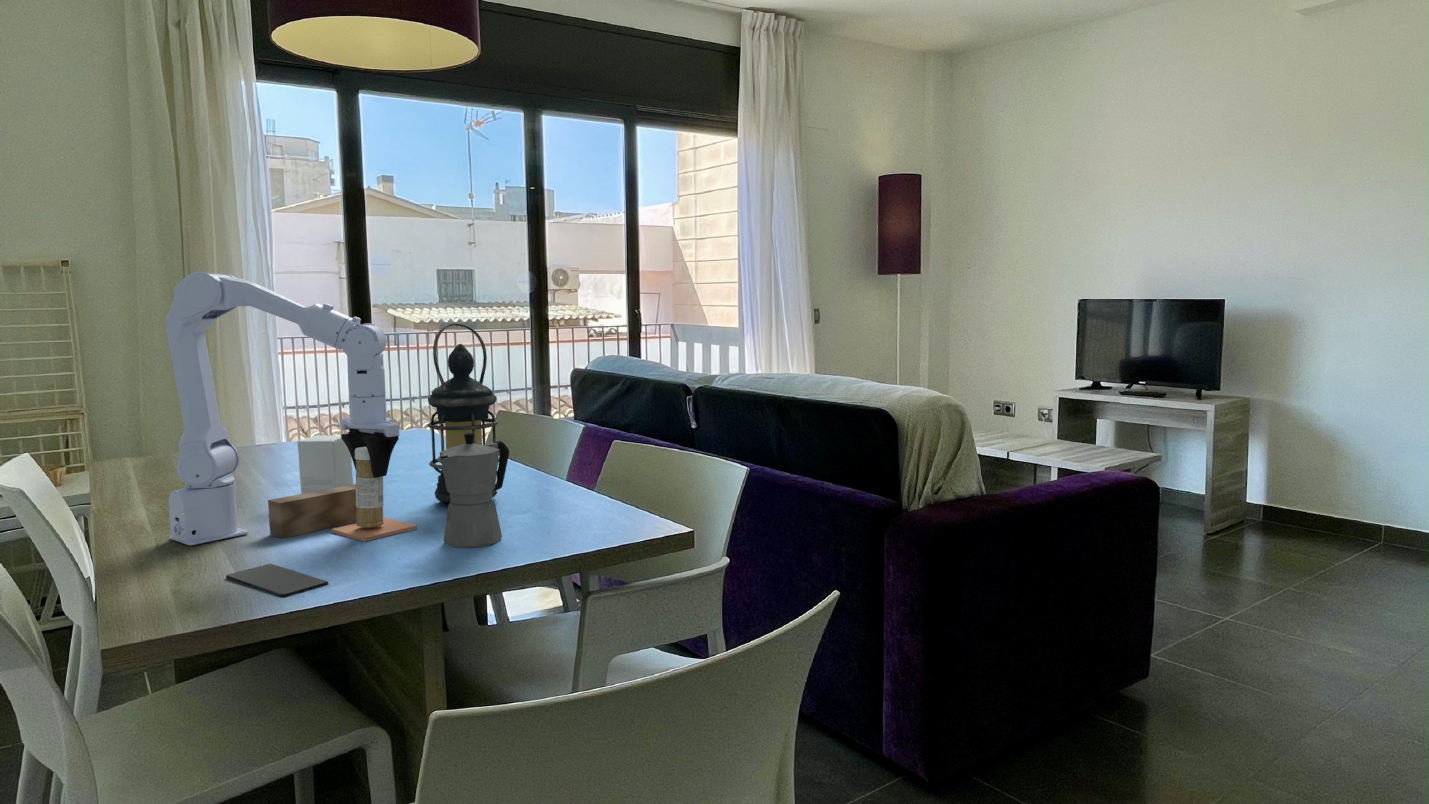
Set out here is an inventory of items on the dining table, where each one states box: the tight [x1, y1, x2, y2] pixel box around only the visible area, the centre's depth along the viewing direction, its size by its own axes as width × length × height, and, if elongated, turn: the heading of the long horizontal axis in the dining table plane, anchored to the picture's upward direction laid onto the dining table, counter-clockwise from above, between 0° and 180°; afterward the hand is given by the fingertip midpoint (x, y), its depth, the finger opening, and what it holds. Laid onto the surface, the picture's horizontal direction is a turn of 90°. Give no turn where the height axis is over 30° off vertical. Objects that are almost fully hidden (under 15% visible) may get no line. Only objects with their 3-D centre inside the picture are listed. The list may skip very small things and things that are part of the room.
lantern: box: [427, 322, 499, 504], centre depth 172 cm, size 14×13×35 cm
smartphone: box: [225, 563, 329, 598], centre depth 125 cm, size 7×1×15 cm
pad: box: [330, 516, 418, 542], centre depth 153 cm, size 10×10×1 cm
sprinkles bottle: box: [355, 447, 384, 527], centre depth 151 cm, size 5×5×13 cm
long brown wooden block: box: [267, 483, 357, 539], centre depth 156 cm, size 18×4×6 cm, turn 143°
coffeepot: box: [436, 432, 510, 549], centre depth 146 cm, size 15×9×18 cm, turn 150°
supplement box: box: [296, 435, 354, 494], centre depth 176 cm, size 7×7×13 cm
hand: (371, 474), depth 151 cm, fingers closed on sprinkles bottle, 4 cm apart
